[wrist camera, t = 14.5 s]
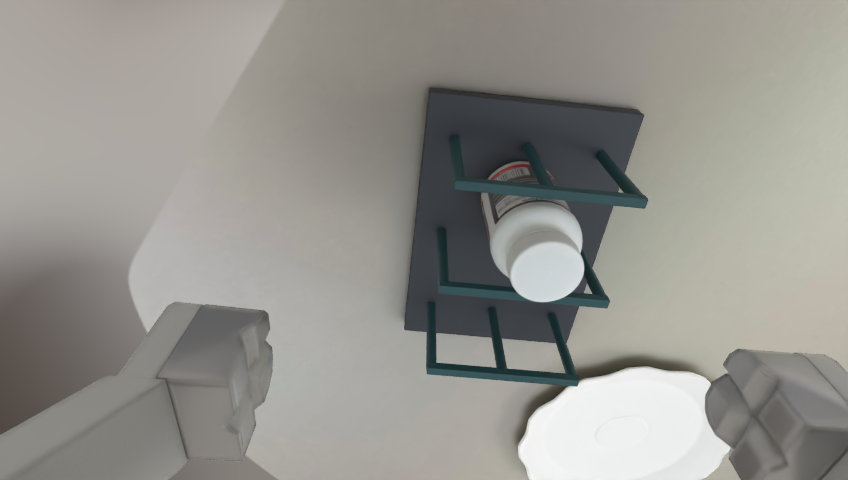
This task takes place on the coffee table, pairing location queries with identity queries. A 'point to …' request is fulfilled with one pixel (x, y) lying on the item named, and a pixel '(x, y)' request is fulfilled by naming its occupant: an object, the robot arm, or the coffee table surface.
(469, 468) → the coffee table surface
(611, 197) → the rack
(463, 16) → the coffee table surface
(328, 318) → the coffee table surface
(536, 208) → the pill bottle
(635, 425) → the plate
